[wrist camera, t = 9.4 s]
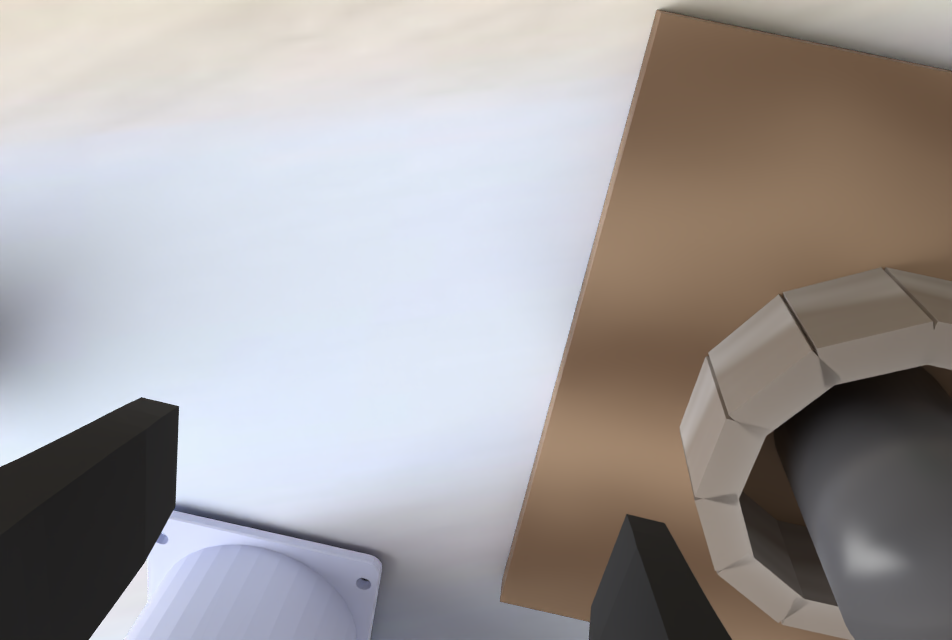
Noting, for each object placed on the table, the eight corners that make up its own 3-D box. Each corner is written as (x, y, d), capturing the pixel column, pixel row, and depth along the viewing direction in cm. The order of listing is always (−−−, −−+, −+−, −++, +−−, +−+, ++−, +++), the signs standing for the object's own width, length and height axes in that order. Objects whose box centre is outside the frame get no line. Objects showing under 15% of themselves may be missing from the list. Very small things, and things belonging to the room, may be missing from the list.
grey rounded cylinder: (907, 508, 21) (1016, 694, 16) (751, 474, 22) (807, 648, 16) (979, 374, 19) (1133, 535, 14) (807, 338, 20) (894, 485, 14)
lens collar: (976, 685, 25) (1043, 806, 22) (502, 578, 26) (490, 680, 22) (1356, 154, 17) (1561, 209, 14) (656, 9, 18) (678, 25, 14)
